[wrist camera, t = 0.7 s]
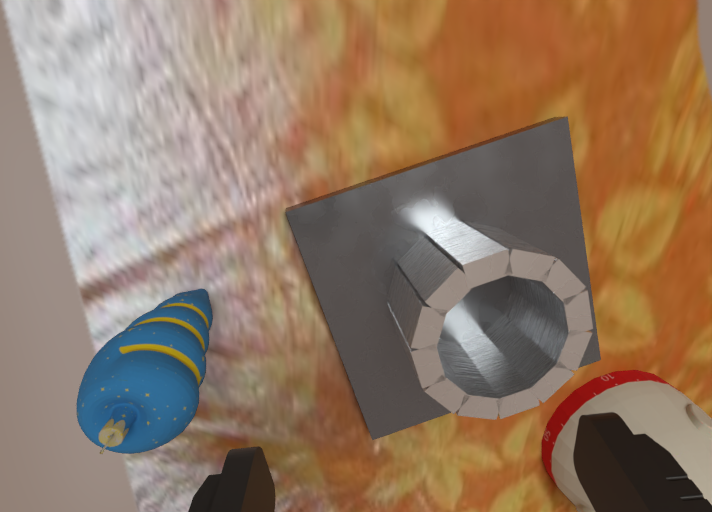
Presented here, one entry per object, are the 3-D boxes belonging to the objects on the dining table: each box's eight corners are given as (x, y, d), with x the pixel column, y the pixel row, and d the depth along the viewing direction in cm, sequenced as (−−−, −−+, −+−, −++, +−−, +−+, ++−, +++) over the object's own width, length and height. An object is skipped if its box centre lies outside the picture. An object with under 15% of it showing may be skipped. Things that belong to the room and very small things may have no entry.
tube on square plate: (286, 208, 29) (279, 239, 20) (554, 117, 29) (651, 112, 21) (369, 427, 35) (389, 517, 27) (588, 350, 35) (673, 416, 27)
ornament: (251, 284, 30) (202, 425, 16) (216, 338, 31) (139, 518, 17) (185, 247, 29) (67, 366, 14) (150, 305, 29) (7, 470, 15)
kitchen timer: (624, 341, 36) (837, 483, 21) (705, 418, 39) (931, 582, 25) (511, 449, 38) (637, 644, 23) (599, 512, 42) (752, 712, 27)
